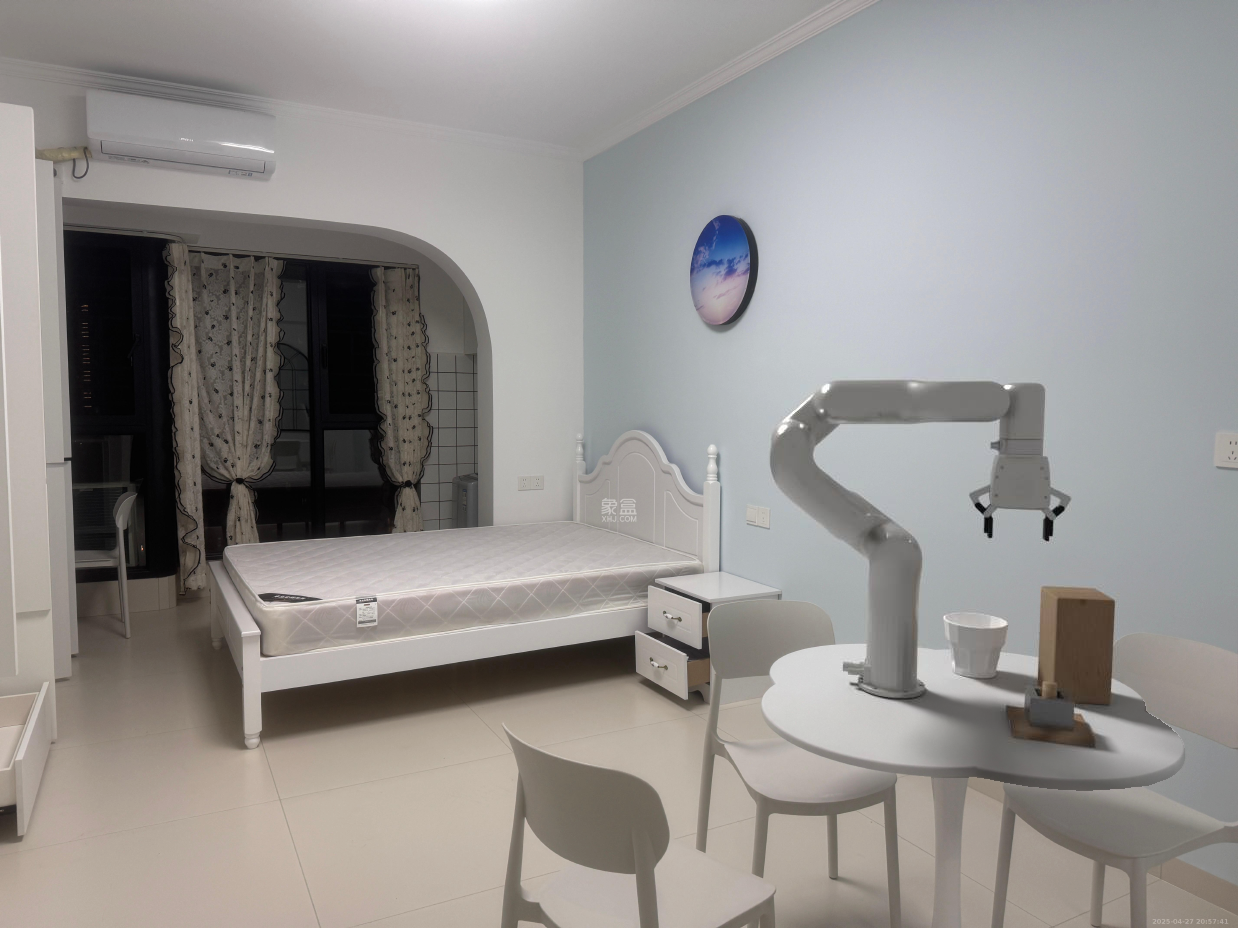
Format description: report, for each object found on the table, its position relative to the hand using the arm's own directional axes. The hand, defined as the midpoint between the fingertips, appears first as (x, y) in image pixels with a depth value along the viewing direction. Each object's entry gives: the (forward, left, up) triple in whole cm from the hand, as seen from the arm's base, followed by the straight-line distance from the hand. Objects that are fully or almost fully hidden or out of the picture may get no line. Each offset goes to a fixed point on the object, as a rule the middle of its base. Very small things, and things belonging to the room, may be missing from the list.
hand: (1017, 538), depth 154 cm
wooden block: (+11, +4, -31) cm, 33 cm away
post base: (+4, -16, -30) cm, 34 cm away
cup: (-6, +12, -31) cm, 33 cm away
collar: (+4, -16, -29) cm, 33 cm away
